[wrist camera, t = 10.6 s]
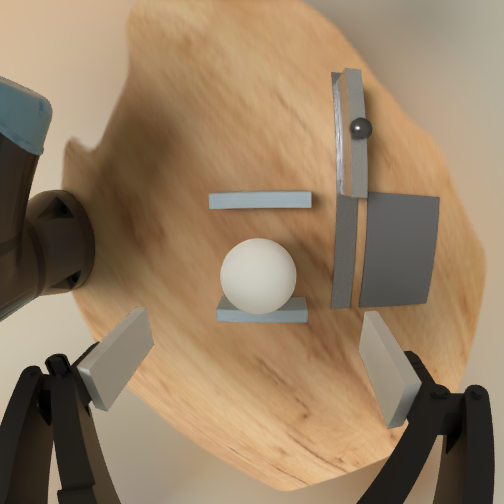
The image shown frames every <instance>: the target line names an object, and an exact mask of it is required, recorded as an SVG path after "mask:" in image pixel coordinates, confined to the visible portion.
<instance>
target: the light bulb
mask: <svg viewBox="0 0 504 504" xmlns="http://www.w3.org/2000/svg"><path fill="white" fill-rule="evenodd" d="M220 280H221V285H222V289H223V292H224V294H225V295H226V297H227V299H228V300H229V301H230V302H231V303H232V304H233V305H234V306H235V307H237V308H238V309H240V310H242V311H244V312H247V313H251V314H266V313H270V312H273V311H275V310H277V309H279V308H280V307H282V306H283V305H284V304H285V303H286V302H287V301H288V299H289V298H290V296H291V295H292V293H293V291H294V288H295V284H296V268H295V264H294V262H293V260H292V258H291V256H290V255H289V253H288V252H287V251H286V250H285V249H284V248H283V247H282V246H281V245H279V244H278V243H276V242H274V241H271V240H268V239H262V238H255V239H249V240H245V241H243V242H241V243H239V244H238V245H236V246H235V247H234V248H233V249H231V251H230V252H229V253H228V254H227V255H226V257H225V259H224V261H223V264H222V267H221V273H220Z"/></svg>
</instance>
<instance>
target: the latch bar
mask: <svg viewBox="0 0 504 504" xmlns="http://www.w3.org/2000/svg"><path fill="white" fill-rule="evenodd" d="M336 86H337V98H338V113H339V131H340V160H341V194H342V195H345V196H349V197H356V198H367V190H368V165H367V138H368V137H369V136H370V135H371V134H372V125H371V123H370V122H369V121H368V120H367V119H366V117H365V104H364V93H363V84H362V75H361V70H358V69H350V68H345V69H344V71H343V72H342V74H341V75H340V77H339V78H338V80H337V81H336Z"/></svg>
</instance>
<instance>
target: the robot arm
mask: <svg viewBox="0 0 504 504" xmlns="http://www.w3.org/2000/svg"><path fill="white" fill-rule="evenodd" d="M51 119H52V107H51V104H50V102H49V101H48V100H47V99H46V98H45V97H43V96H42V95H40V94H38V93H36V92H34V91H33V90H31V89H29V88H26V87H24V86H22V85H20V84H18V83H15V82H13V81H11V80H9V79H6V78H4V77H1V76H0V322H1V321H2V320H4V319H5V318H7V317H8V316H9V315H11V314H12V313H14V312H15V311H17V310H18V309H20V308H21V307H23V306H24V305H26V304H27V303H29V302H30V301H32V300H34V299H35V298H37V297H39V296H43V295H52V294H60V293H67V292H70V291H72V290H74V289H75V288H77V287H78V286H80V285H81V284H83V283H84V282H85V281H86V279H87V278H88V276H89V275H90V273H91V270H92V267H93V263H94V255H95V245H94V237H93V232H92V228H91V224H90V222H89V219H88V217H87V215H86V213H85V211H84V209H83V207H82V206H81V205H80V203H79V202H78V201H77V200H76V199H75V198H74V197H73V196H72V195H70V194H69V193H67V192H65V191H62V190H51V191H44V192H41V193H39V194H37V195H35V196H34V197H33V198H31V199H30V200H28V199H29V194H30V189H31V185H32V182H33V178H34V174H35V171H36V167H37V164H38V160H39V157H40V155H42V154H43V151H44V148H43V145H44V141H45V138H46V135H47V131H48V128H49V125H50V122H51ZM153 345H154V342H153V338H152V333H151V328H150V324H149V319H148V313H147V308H145V307H135V308H134V309H133V310H132V311H131V312H130V313H129V314H128V315H127V316H126V317H125V318H124V319H123V320H122V321H121V322H120V323H119V324H118V325H117V326H116V327H115V328H114V329H113V330H112V331H111V332H110V333H109V334H108V335H107V336H106V337H105V338H104V339H103V340H102V341H101V342H97V343H95V344H93V345H91V346H90V347H89V348H88V349H87V350H86V352H84V353H83V354H82V356H80V357H79V358H78V359H77V360H76V361H75V362H74V363H73V364H72V365H71V366H70V363H69V361H68V358H67V356H66V355H64V354H54V355H52V356H50V357H48V358H47V359H46V361H45V365H46V367H47V369H48V372H49V374H43V373H42V371H41V369H40V367H38V366H29V367H27V368H26V369H24V370H23V372H22V373H21V375H20V378H19V380H18V382H17V384H16V387H15V389H14V391H13V394H12V396H11V399H10V401H9V403H8V406H7V409H6V411H5V414H4V417H3V420H2V422H1V425H0V504H48V485H49V473H50V463H51V454H52V448H53V441H54V444H55V451H56V459H57V465H58V470H59V476H60V481H61V485H62V489H61V490H58V492H57V496H58V502H59V504H121V503H120V500H119V498H118V496H117V493H116V491H115V488H114V485H113V483H112V480H111V478H110V475H109V472H108V469H107V466H106V463H105V461H104V457H103V454H102V451H101V447H100V444H99V440H98V437H97V433H96V430H95V426H94V421H93V418H92V413H91V409H90V407H89V405H88V404H89V403H90V401H91V400H92V401H93V404H94V406H95V407H96V408H98V409H101V410H104V411H108V410H109V409H110V407H111V406H112V404H113V403H114V401H115V400H116V398H117V397H118V395H119V394H120V393H121V391H122V390H123V388H124V387H125V385H126V384H127V382H128V381H129V379H130V378H131V377H132V375H133V374H134V372H135V371H136V369H137V368H138V366H139V365H140V364H141V362H142V361H143V359H144V358H145V357H146V355H147V354H148V352H149V351H150V349H151V348H152V347H153ZM358 351H359V353H360V356H361V358H362V361H363V363H364V366H365V368H366V371H367V374H368V376H369V379H370V382H371V384H372V387H373V390H374V392H375V395H376V398H377V400H378V403H379V406H380V409H381V412H382V414H383V417H384V420H385V423H386V426H387V429H390V428H395V427H400V426H403V424H404V422H405V420H406V418H407V420H408V423H409V424H408V426H407V428H406V430H405V432H404V433H403V435H402V437H401V439H400V441H399V442H398V444H397V446H396V447H395V449H394V451H393V452H392V454H391V456H390V457H389V459H388V460H387V462H386V463H385V465H384V466H383V468H382V470H381V471H380V473H379V474H378V475H377V477H376V478H375V480H374V481H373V482H372V484H371V485H370V487H369V488H368V489H367V491H366V492H365V493H364V495H363V496H362V497H361V498H360V500H359V501H358V502H357V504H403V503H404V501H405V499H406V498H407V496H408V494H409V493H410V491H411V489H412V487H413V485H414V484H415V482H416V480H417V478H418V476H419V474H420V472H421V470H422V468H423V466H424V464H425V462H426V460H427V458H428V455H429V453H430V451H431V449H432V446H433V444H434V442H435V440H436V437H437V435H443V444H442V453H441V462H440V468H439V475H438V481H437V486H436V491H435V496H434V500H433V504H493V494H494V471H495V461H494V436H493V425H492V415H491V408H490V401H489V395H488V392H487V390H486V389H485V388H483V387H482V386H480V385H471V386H468V387H467V389H466V390H465V392H464V393H463V394H462V393H450V391H449V390H448V389H447V388H446V387H445V386H443V385H439V384H436V383H435V382H434V380H433V378H432V377H431V375H430V374H429V372H428V371H427V369H426V368H425V366H424V364H423V363H422V361H421V360H420V358H419V357H418V355H416V354H415V353H413V352H412V351H404V352H403V351H402V349H401V347H400V346H399V344H398V343H397V341H396V339H395V338H394V336H393V335H392V333H391V332H390V330H389V328H388V327H387V325H386V324H385V322H384V321H383V319H382V318H381V316H380V315H379V313H378V312H377V311H365V315H364V321H363V327H362V333H361V338H360V344H359V349H358Z"/></svg>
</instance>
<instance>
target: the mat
mask: <svg viewBox="0 0 504 504" xmlns="http://www.w3.org/2000/svg"><path fill="white" fill-rule="evenodd" d="M439 200H440V198H439V197H429V196H417V195H404V194H390V193H372V192H368V204H367V228H366V244H365V257H364V268H363V278H362V287H361V295H360V303H359V307H360V308H363V307H382V306H398V305H411V304H423V303H426V301H427V296H428V291H429V286H430V280H431V275H432V269H433V262H434V255H435V247H436V239H437V229H438V217H439Z"/></svg>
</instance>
